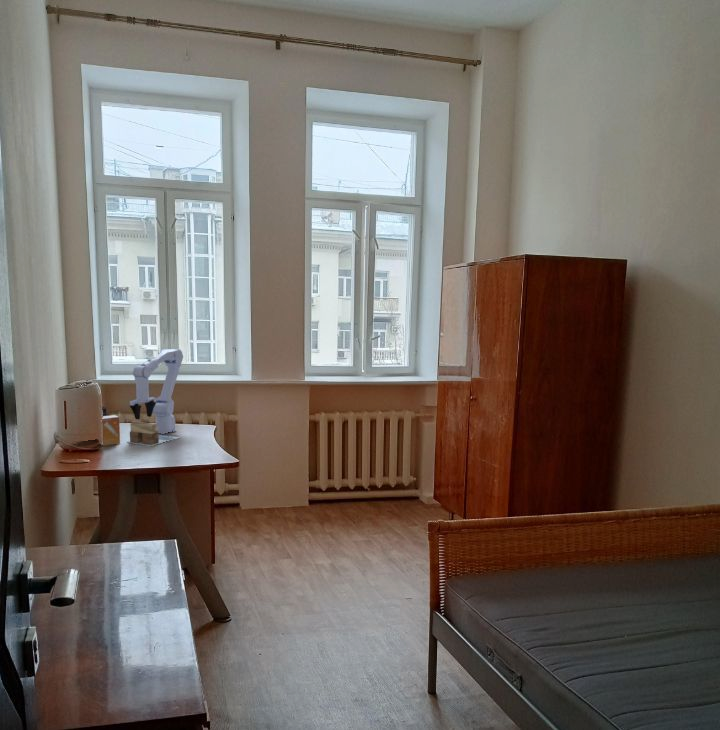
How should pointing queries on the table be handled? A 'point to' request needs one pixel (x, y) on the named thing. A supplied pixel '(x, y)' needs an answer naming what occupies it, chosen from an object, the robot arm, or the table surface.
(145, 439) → the cube
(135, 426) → the lintel
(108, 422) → the small box
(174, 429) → the robot arm
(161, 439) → the mat
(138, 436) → the cube
